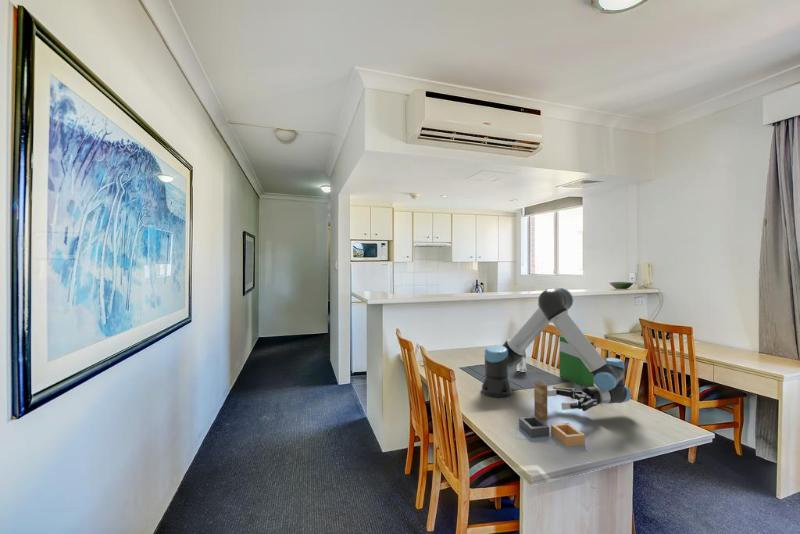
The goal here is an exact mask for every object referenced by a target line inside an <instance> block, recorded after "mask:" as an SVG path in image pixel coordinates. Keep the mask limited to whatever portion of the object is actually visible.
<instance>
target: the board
mask: <svg viewBox="0 0 800 534" xmlns="http://www.w3.org/2000/svg"><path fill="white" fill-rule="evenodd" d="M532 427H535V426H532ZM580 432H581V433H583V434H584V432H583V431H580ZM567 435H569V434H567ZM584 435H585V434H584ZM515 438H516V439H520V440H526V441H531V442H537V443H541V444H547V445H552V446H558V447H563V448H569V449H574V450H578V451H583V452H588V447H587V442H586V441H585V444H584V445H576V446H566V445H564V444H563V443H562V442H561V441H560V440H558V439H557V438H556V437H555V436H554V435H552V434H551V426H549V436H545V437H536V438H531V437H530V436H529V435H528V434H527V433H526V432H525V431H524V430H523V429H522V428H521V427H519V423H518V425H517V431H516V436H515Z"/></svg>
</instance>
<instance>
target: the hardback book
mask: <svg viewBox="0 0 800 534" xmlns="http://www.w3.org/2000/svg"><path fill="white" fill-rule="evenodd" d="M589 342H590V343H591V344H592V346H593V347H594V346H595V345H594V344H595V342H594V341H592V340H589ZM594 348H595V347H594ZM559 377H561V378H563V379H566V380H568V381H570V382H571V383H574V384H576V383H577V384H576V385H578V386H581V387H591V386H594V385H595V382H594V376H593V375H592V374H591V372H590V371H589V370H588V368H587V367H586V366H585V364H584V363H583V362H582V360H581V359H580V358H579V356H578V355H577V354H576V352H575V351H574V350H573V348H572V347H571V346H570V345H569V343H568V342H567V341H566V339H565V338H564V337H563V335H559ZM593 384H594V385H593Z"/></svg>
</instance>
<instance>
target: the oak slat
mask: <svg viewBox="0 0 800 534" xmlns="http://www.w3.org/2000/svg"><path fill="white" fill-rule="evenodd" d="M533 387H534V391H533V394H534V395H533V396H534V397H533V398H534V402H533V403H534V410H533V411H534V416H536V417H537V418H539V419H540V420H541V421H542V422H543V421H548V420H549V419H548V415H549V414H548V412H549V411H548V396H547V390H548V385H547V384H546V383H544V382H543V381H534V383H533Z"/></svg>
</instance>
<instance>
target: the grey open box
mask: <svg viewBox="0 0 800 534" xmlns="http://www.w3.org/2000/svg"><path fill="white" fill-rule="evenodd" d="M518 424H519V427H521V428H522V429H523V430H524V431H525V432H526V433H527V434H528V435H529V436H530V437H531V438H536V437H545V436H549V427H550V426H548V425H547V424H546V423H545V422H543V420H542V421H541V420H540V419H539V418H537V417H536V416H535V415H533V416H522V417H519V418H518ZM532 426H535V427H532Z"/></svg>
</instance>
